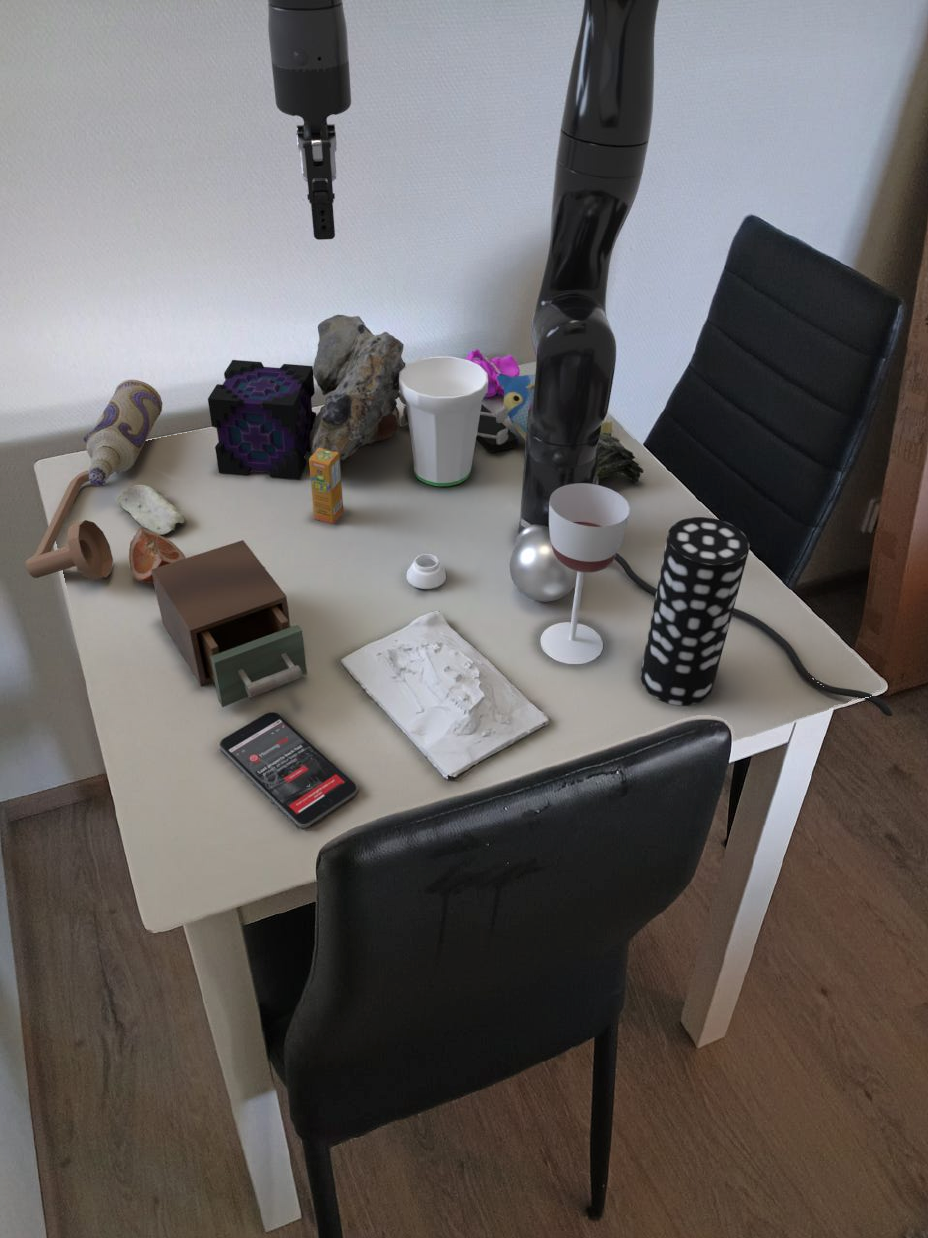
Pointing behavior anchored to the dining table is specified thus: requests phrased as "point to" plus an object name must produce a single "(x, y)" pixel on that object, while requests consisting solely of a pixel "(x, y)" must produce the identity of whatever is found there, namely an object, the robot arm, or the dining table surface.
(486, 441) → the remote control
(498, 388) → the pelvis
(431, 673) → the terrain model
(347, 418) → the rock
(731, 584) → the white-spotted black cylinder
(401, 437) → the dining table surface
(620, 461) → the mineral specimen
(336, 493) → the supplement box
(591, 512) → the wineglass
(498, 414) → the figurine
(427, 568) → the white jar
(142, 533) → the fruit slice
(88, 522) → the long-stemmed smoking pipe
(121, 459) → the decorative bottle
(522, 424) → the decorative fish sculpture
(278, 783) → the smartphone
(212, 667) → the drawer
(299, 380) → the energy cube
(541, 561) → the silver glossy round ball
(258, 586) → the cabinet
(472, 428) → the cup
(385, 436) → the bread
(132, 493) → the white oblong lump
